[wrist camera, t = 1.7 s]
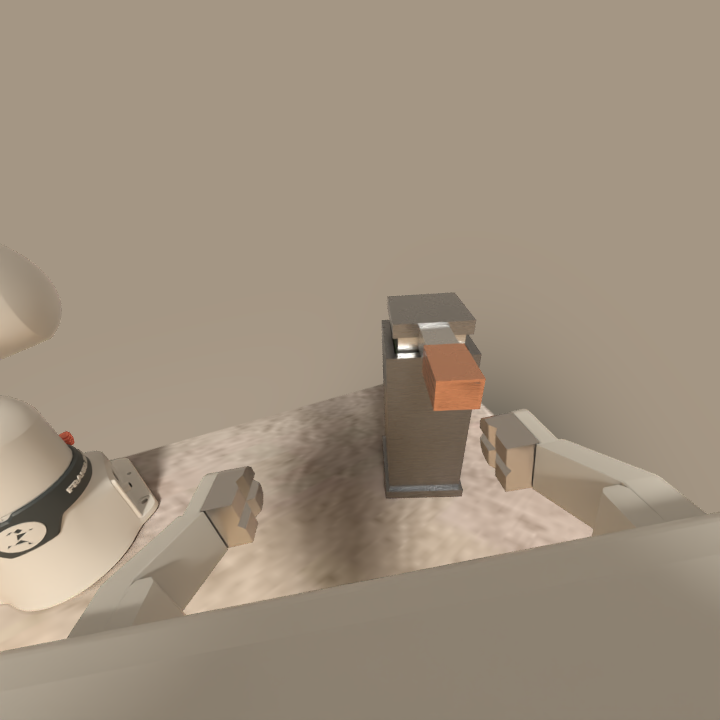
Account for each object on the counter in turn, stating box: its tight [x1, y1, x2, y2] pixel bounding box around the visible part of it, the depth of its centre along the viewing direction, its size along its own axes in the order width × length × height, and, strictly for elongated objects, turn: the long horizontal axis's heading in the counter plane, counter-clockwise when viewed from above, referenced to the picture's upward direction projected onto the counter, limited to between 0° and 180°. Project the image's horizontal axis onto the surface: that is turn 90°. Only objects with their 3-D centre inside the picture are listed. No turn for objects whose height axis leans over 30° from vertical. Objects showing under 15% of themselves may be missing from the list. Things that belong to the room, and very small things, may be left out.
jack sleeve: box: [382, 320, 481, 498], centre depth 42 cm, size 11×11×24 cm
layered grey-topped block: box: [387, 293, 486, 411], centre depth 35 cm, size 18×8×24 cm, turn 179°
